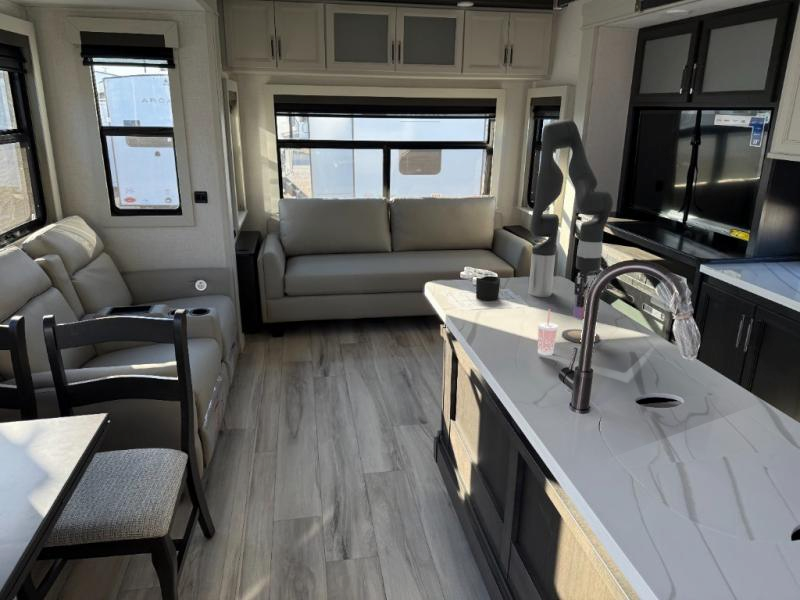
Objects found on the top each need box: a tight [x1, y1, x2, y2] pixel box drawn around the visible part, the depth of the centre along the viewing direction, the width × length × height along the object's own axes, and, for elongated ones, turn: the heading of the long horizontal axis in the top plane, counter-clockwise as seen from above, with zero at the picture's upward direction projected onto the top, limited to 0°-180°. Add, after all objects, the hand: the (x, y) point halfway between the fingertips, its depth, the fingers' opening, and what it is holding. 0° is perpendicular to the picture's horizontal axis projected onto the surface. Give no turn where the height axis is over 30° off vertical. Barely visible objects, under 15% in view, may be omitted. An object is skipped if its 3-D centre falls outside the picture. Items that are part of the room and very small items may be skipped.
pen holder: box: [475, 275, 501, 302], centre depth 224 cm, size 9×9×10 cm
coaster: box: [561, 328, 601, 344], centre depth 187 cm, size 12×12×1 cm
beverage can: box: [572, 271, 596, 321], centre depth 183 cm, size 6×6×15 cm
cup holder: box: [459, 266, 499, 286], centre depth 248 cm, size 20×11×7 cm, turn 24°
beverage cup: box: [537, 308, 559, 356], centre depth 171 cm, size 6×6×14 cm
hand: (583, 304), depth 184 cm, fingers closed on beverage can, 6 cm apart
